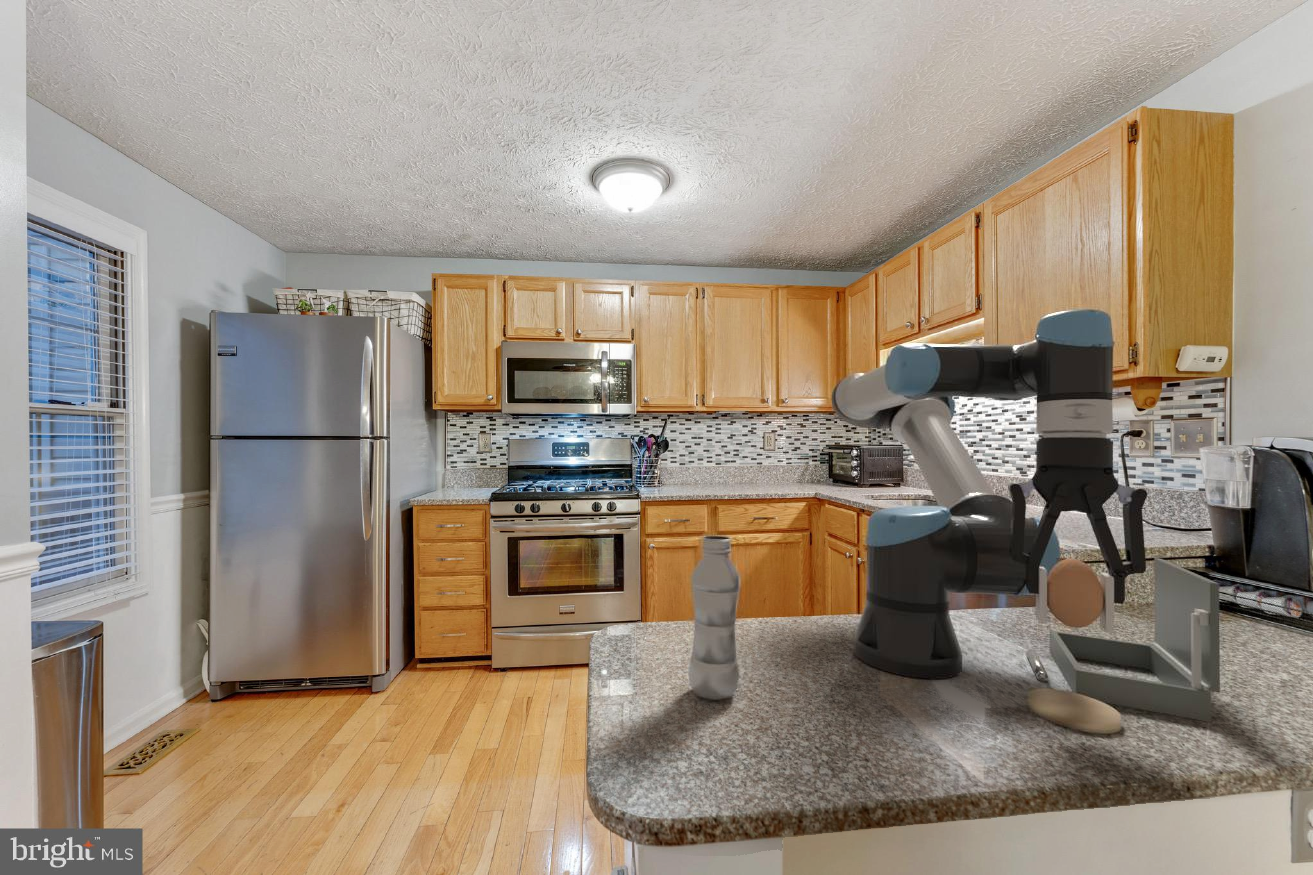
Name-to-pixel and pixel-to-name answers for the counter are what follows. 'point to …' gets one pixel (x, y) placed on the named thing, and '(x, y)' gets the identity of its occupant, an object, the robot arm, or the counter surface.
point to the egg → (1074, 593)
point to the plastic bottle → (714, 621)
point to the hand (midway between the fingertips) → (1073, 624)
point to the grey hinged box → (1156, 651)
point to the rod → (1037, 665)
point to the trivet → (1074, 711)
